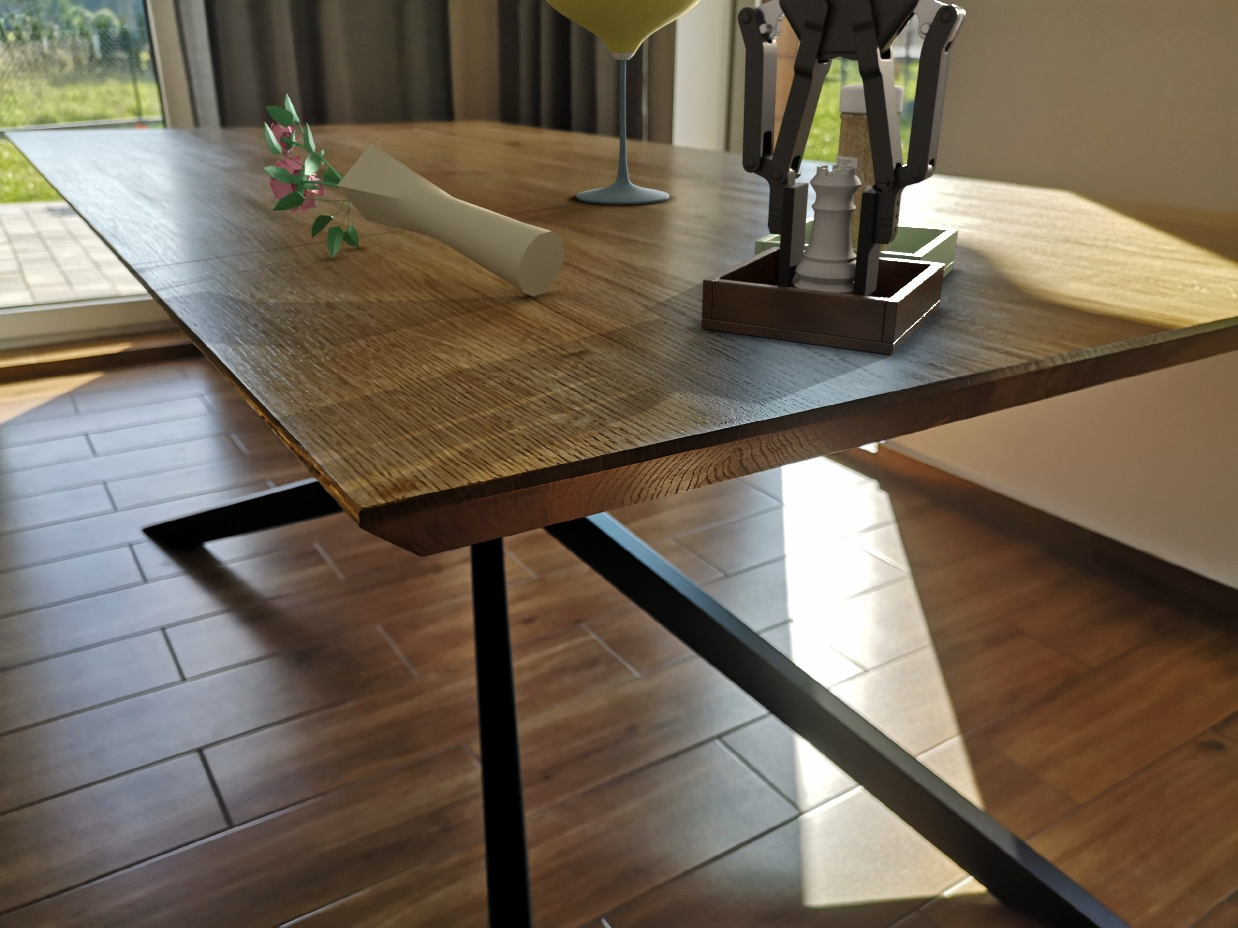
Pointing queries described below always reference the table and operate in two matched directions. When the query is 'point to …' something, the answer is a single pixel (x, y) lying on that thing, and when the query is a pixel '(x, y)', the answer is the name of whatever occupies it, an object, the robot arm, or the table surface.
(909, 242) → the green bin
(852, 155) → the sprinkles bottle
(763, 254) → the walnut bin
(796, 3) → the robot arm
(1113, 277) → the table surface
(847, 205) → the rook chess piece
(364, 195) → the flower vase
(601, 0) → the cocktail glass
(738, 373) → the table surface
